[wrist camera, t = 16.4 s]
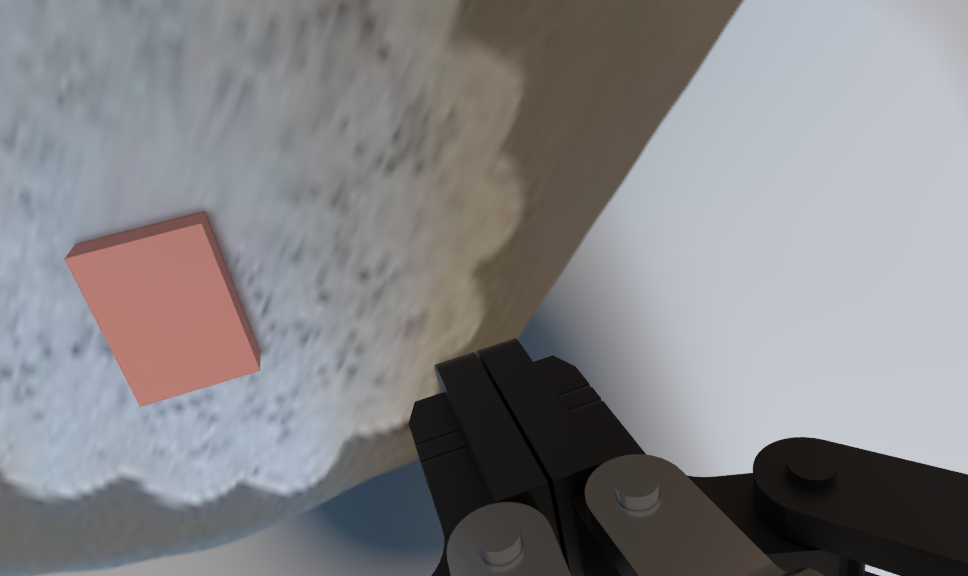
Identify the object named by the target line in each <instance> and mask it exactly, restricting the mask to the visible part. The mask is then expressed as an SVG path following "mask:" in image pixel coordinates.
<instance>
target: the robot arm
mask: <svg viewBox="0 0 968 576" xmlns="http://www.w3.org/2000/svg"><path fill="white" fill-rule="evenodd" d="M435 371H436V375H437V379H438V382H439V386H440V390H441V393H440V394H437V395H434V396H431V397H428V398H425V399H422V400H419V401H416V402H415V403H414V407H413V410H412V414H411V417H410V421H409V426H410V430H411V433H412V436H413V439H414V443H415V446H416V449H417V452H418V456H419V459H420V462H421V465H422V469H423V472H424V475H425V478H426V482H427V485H428V488H429V491H430V494H431V498H432V501H433V504H434V507H435V510H436V513H437V516H438V520H439V523H440V526H441V529H442V532H443V535H444V543H445V545H444V550H443V555H442V557H441V561H440V563H439V564H438V567H437V568H436V570H435V572H434V573H433V574H432V576H879V575H876V574H873V573H870V572H867V571H865V564H866V565H869V566H872V567H875V568H878V569H882V570H885V571H887V572H891V573H894V574H897V575H900V576H968V475H967V474H963V473H959V472H955V471H950V470H947V469H942V468H938V467H934V466H930V465H926V464H922V463H917V462H913V461H909V460H905V459H901V458H897V457H892V456H888V455H884V454H879V453H876V452H871V451H867V450H863V449H859V448H855V447H851V446H847V445H842V444H838V443H834V442H830V441H826V440H821V439H816V438H806V437H800V438H799V437H797V438H796V437H795V438H788V439H783V440H779V441H776V442H774V443H771V444H769V445H768V446H766V447H765V448H763V449H762V450H761V451H760V452H759V453H758V455H757V456H756V458H755V461H754V464H753V473H748V474H738V475H727V476H717V477H692V476H686V475H685V474H684V473H683V472H682V471H681V470H680V469H679V468H678V467H677V466H676V465H674V464H672V463H671V462H669V461H667V460H664V459H662V458H659V457H655V456H651V455H646V454H645V452H644V451H643V450H642V449H641V448H640V446H639V445H638V444H637V443H636V441H635V440H634V439H633V438H632V436H631V435H630V434H629V433H628V431H627V430H626V429H625V428H624V426H623V425H622V424H621V423H620V421H619V420H618V419H617V418H616V416H615V415H614V414H613V413H612V411H611V410H610V409H609V408H608V407H607V405H606V404H605V403H604V401H603V402H602V401H601V398H600V397H599V395H598V394H597V393H596V392H595V390H594V389H593V388H592V387H590V385H589V383H588V382H587V380H586V379H585V378H584V377H583V375H582V374H581V373H580V372H579V370H578V369H577V368H576V367H575V366H573V365H571V364H569V363H567V362H565V361H563V360H561V359H559V358H557V357H555V356H550V357H547V358H544V359H541V360H538V361H535V362H533V361H532V360H531V358H530V357H529V355H528V354H527V352H526V351H525V350H524V349H523V347H522V345H521V344H520V343H519V341H518V340H517V339H512V340H509V341H506V342H503V343H499V344H496V345H493V346H490V347H487V348H484V349H481V350H478V351H476V354H475V353H474V352H473V353H469V354H466V355H463V356H460V357H457V358H454V359H451V360H448V361H445V362H442V363H439V364H436V365H435Z"/></svg>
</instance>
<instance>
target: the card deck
mask: <svg viewBox="0 0 968 576" xmlns="http://www.w3.org/2000/svg"><path fill="white" fill-rule="evenodd" d="M65 261H66V263H67V265H68V267H69V269H70V271H71V273H72V275H73V277H74V278H75V280H76V282H77V284H78V286H79V288H80V290H81V292H82V294H83V296H84V298H85V300H86V302H87V304H88V306H89V308H90V310H91V312H92V314H93V316H94V318H95V319H96V321H97V323H98V325H99V327H100V329H101V331H102V333H103V335H104V337H105V339H106V341H107V343H108V345H109V347H110V349H111V351H112V353H113V355H114V357H115V359H116V360H117V362H118V364H119V366H120V368H121V370H122V372H123V374H124V376H125V378H126V380H127V382H128V384H129V386H130V388H131V390H132V392H133V394H134V396H135V398H136V400H137V401H138V403H139V405H140V407H142V406H145V405H148V404H151V403H155V402H158V401H161V400H165V399H168V398H171V397H175V396H178V395H181V394H185V393H188V392H191V391H194V390H198V389H201V388H204V387H208V386H211V385H214V384H218V383H221V382H224V381H228V380H231V379H234V378H237V377H241V376H244V375H247V374H251V373H254V372H257V371H260V351H259V348H258V346H257V343H256V341H255V338H254V336H253V333H252V331H251V328H250V326H249V323H248V320H247V318H246V315H245V313H244V310H243V308H242V305H241V303H240V300H239V297H238V295H237V292H236V290H235V287H234V285H233V282H232V280H231V277H230V275H229V272H228V269H227V267H226V264H225V262H224V259H223V257H222V254H221V252H220V249H219V247H218V244H217V241H216V239H215V236H214V234H213V231H212V229H211V226H210V224H209V221H208V218H207V216H206V213H205V211H204V212H200V213H196V214H192V215H188V216H184V217H180V218H177V219H173V220H169V221H165V222H161V223H157V224H153V225H149V226H145V227H141V228H138V229H134V230H130V231H126V232H122V233H118V234H114V235H110V236H106V237H103V238H99V239H95V240H91V241H87V242H83V243H79V244H75V245H74V247H73V248H72V249H71V251H70V252H69V253H68V255H67V256H66V258H65Z"/></svg>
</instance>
